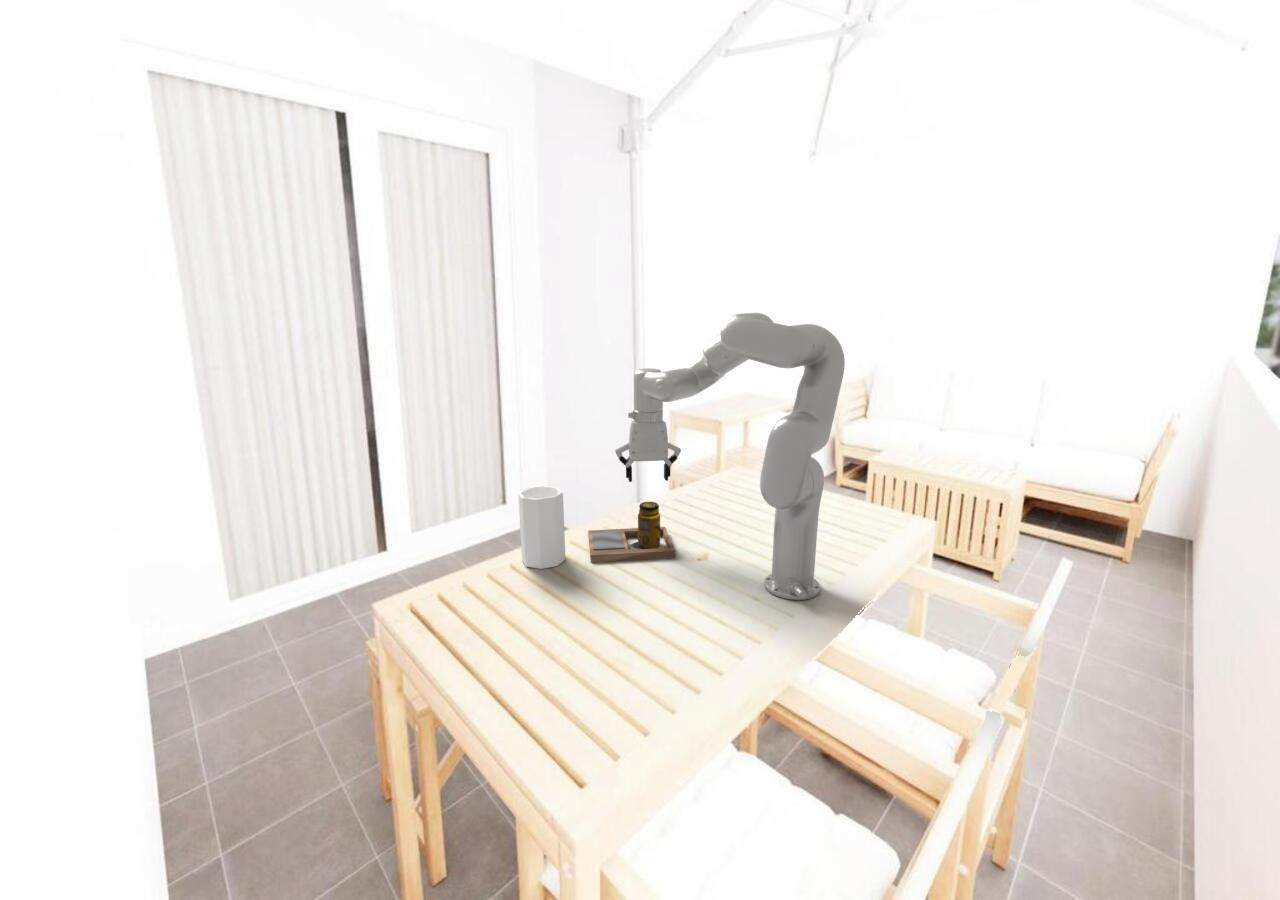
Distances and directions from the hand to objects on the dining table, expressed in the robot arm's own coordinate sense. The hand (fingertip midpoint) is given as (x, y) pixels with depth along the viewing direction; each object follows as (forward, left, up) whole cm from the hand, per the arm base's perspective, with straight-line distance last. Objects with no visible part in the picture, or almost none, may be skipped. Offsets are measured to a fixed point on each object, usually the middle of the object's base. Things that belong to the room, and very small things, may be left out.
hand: (648, 479), depth 159 cm
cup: (-6, +28, -19) cm, 34 cm away
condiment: (-1, +1, -19) cm, 19 cm away
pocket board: (-1, +5, -19) cm, 19 cm away
